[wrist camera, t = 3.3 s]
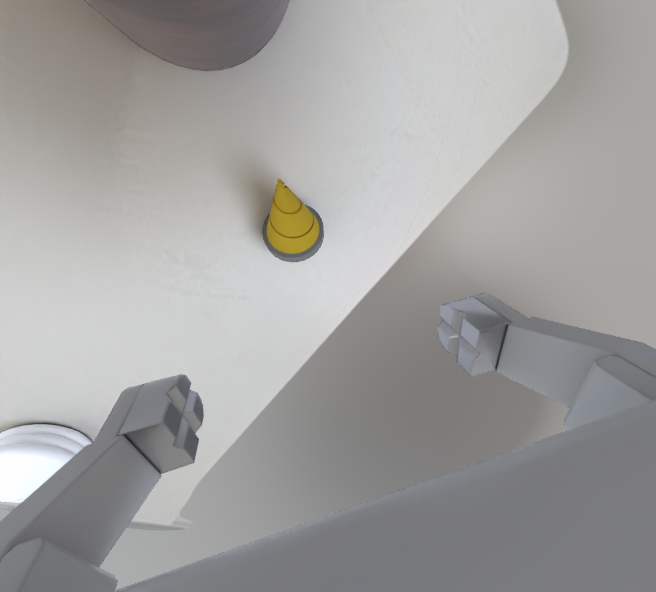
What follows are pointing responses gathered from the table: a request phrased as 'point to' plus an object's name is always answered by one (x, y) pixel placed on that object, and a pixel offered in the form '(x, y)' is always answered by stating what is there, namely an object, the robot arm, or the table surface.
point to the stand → (196, 28)
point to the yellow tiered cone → (292, 227)
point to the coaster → (34, 457)
